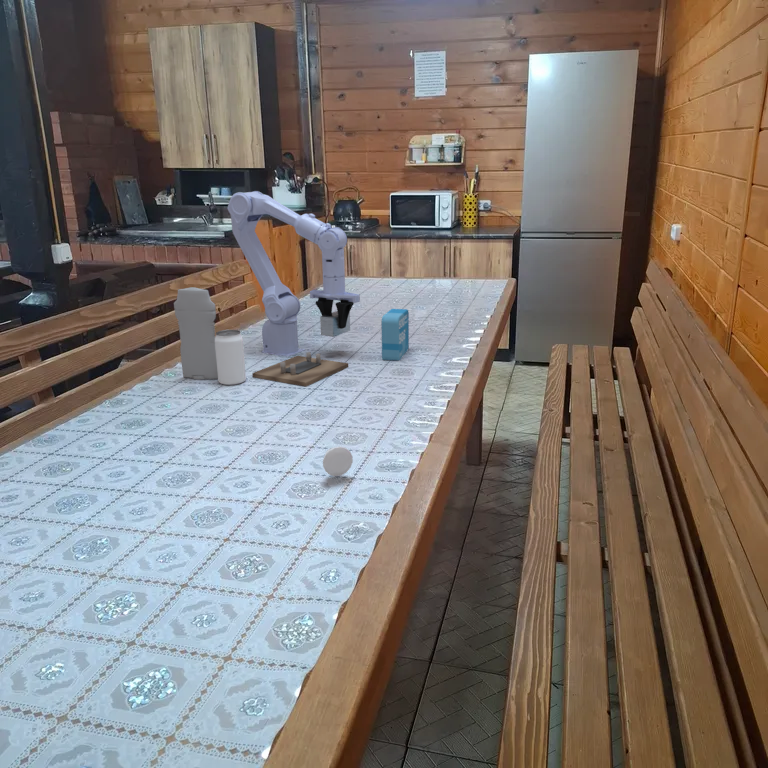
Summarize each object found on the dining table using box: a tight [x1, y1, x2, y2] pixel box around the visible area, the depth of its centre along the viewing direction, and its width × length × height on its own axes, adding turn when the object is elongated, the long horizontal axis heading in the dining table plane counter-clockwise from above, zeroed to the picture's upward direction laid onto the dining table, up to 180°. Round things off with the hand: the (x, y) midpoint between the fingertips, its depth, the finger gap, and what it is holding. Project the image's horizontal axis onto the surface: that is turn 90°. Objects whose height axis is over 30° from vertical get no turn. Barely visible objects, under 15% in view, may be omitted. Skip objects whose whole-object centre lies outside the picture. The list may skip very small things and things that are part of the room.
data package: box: [380, 308, 410, 362], centre depth 178 cm, size 12×4×12 cm, turn 165°
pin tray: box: [252, 351, 349, 387], centre depth 166 cm, size 16×18×4 cm
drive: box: [319, 311, 351, 338], centre depth 179 cm, size 4×8×5 cm, turn 150°
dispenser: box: [173, 286, 218, 381], centre depth 160 cm, size 11×4×22 cm, turn 77°
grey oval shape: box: [322, 446, 354, 477], centre depth 111 cm, size 5×3×5 cm, turn 114°
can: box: [215, 329, 247, 386], centre depth 158 cm, size 6×6×12 cm
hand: (335, 327), depth 179 cm, fingers closed on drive, 4 cm apart
